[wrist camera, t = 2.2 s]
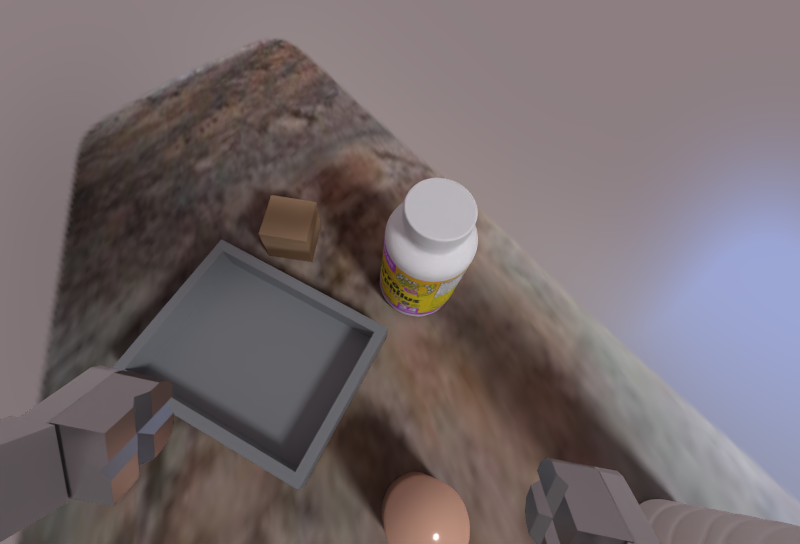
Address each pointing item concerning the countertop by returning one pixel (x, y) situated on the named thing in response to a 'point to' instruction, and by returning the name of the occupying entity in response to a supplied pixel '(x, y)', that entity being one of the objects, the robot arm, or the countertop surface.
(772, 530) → the water bottle
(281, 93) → the countertop surface
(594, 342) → the countertop surface
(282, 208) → the walnut block
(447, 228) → the supplement bottle
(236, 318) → the tray
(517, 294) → the countertop surface
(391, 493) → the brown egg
